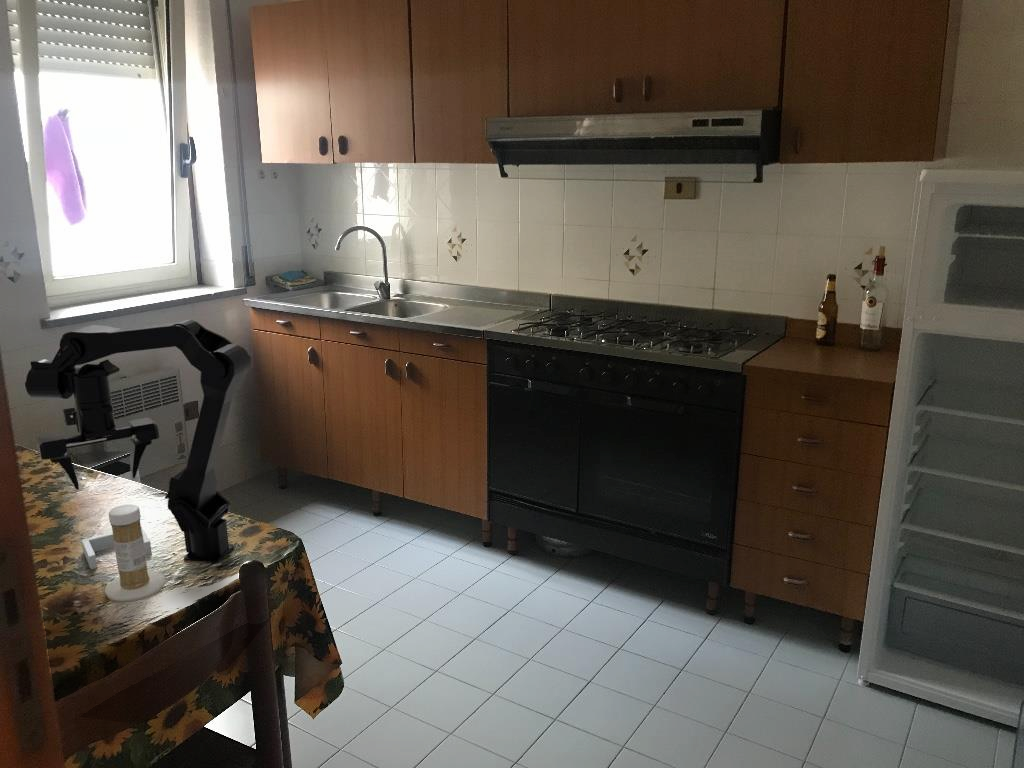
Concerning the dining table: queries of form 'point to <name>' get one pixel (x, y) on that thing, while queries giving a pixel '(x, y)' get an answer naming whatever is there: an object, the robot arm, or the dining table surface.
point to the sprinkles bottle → (129, 546)
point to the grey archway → (105, 546)
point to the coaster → (128, 595)
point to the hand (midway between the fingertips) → (105, 483)
